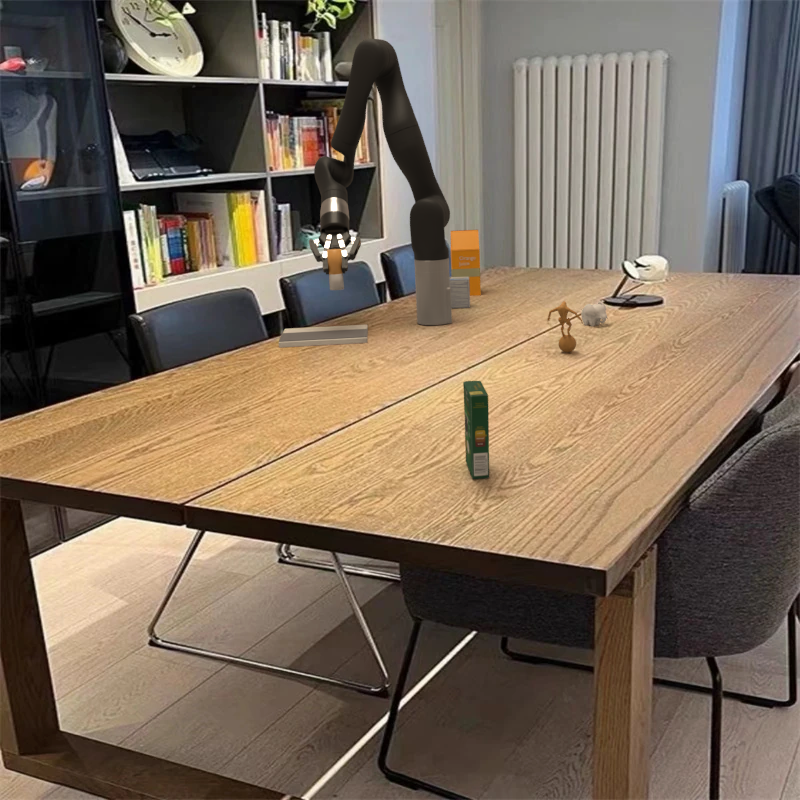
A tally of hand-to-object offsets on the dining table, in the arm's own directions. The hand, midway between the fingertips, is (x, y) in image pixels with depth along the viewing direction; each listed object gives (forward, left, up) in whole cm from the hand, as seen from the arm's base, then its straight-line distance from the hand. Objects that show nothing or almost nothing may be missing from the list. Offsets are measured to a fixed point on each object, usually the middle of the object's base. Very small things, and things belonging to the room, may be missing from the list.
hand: (335, 271), depth 243 cm
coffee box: (-24, +107, -17) cm, 111 cm away
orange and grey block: (0, -1, -5) cm, 5 cm away
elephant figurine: (-65, +2, -17) cm, 67 cm away
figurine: (-52, +32, -17) cm, 63 cm away
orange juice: (-38, -58, -17) cm, 72 cm away
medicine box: (-33, -35, -17) cm, 51 cm away
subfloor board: (+4, 0, -17) cm, 17 cm away
